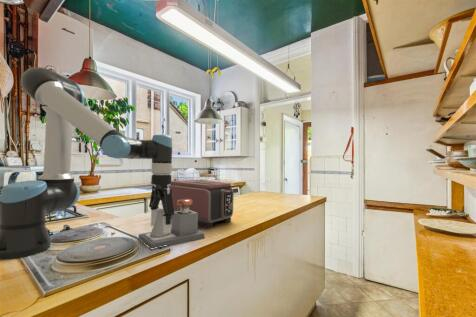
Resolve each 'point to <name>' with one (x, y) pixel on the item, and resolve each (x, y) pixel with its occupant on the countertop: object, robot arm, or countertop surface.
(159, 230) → the flask
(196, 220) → the press
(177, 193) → the toaster
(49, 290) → the countertop surface
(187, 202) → the copper ovoid
